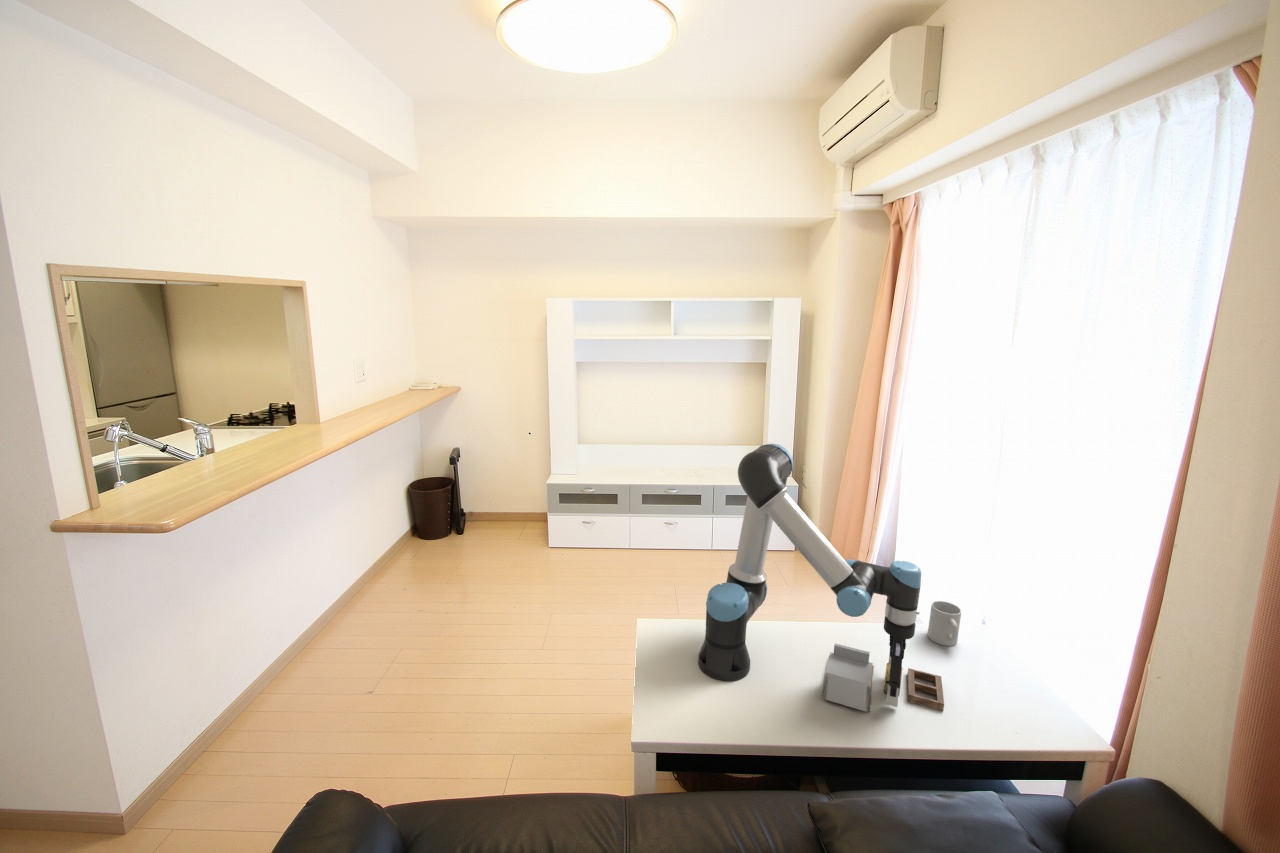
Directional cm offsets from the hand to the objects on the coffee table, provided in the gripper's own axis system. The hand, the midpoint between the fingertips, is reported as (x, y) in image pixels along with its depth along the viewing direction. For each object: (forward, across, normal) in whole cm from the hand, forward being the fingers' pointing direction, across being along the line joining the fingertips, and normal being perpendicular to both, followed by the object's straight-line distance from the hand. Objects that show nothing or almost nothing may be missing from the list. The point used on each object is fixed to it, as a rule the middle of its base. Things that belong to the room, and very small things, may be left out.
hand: (891, 690), depth 151 cm
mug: (+1, +35, -15) cm, 38 cm away
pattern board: (+1, -1, +11) cm, 11 cm away
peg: (+1, 0, 0) cm, 1 cm away
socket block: (+1, +5, -8) cm, 9 cm away
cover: (-1, -8, +11) cm, 14 cm away
